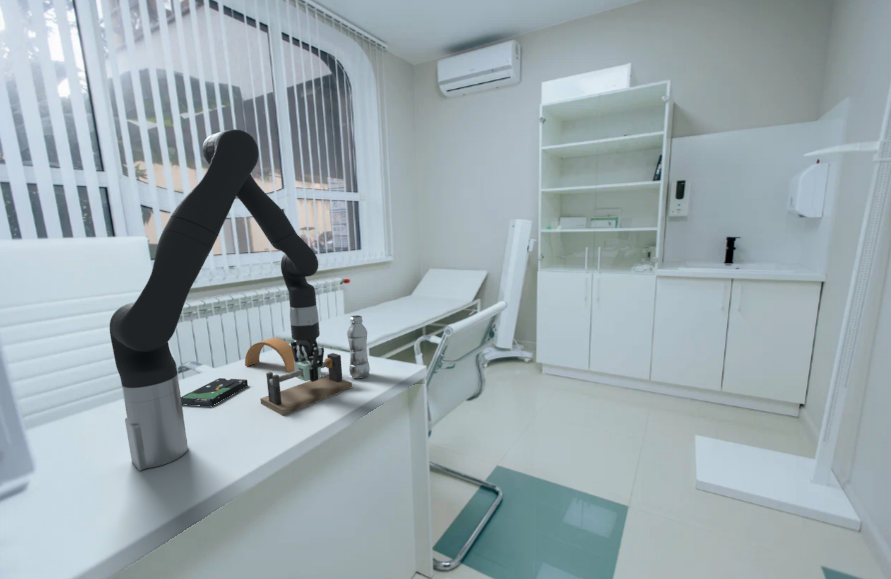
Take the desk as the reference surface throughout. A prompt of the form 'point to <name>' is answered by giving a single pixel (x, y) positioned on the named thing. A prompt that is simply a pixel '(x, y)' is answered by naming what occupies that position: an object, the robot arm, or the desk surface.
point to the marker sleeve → (306, 370)
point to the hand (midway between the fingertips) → (309, 378)
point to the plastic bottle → (358, 348)
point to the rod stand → (305, 388)
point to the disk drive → (214, 392)
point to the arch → (277, 345)
